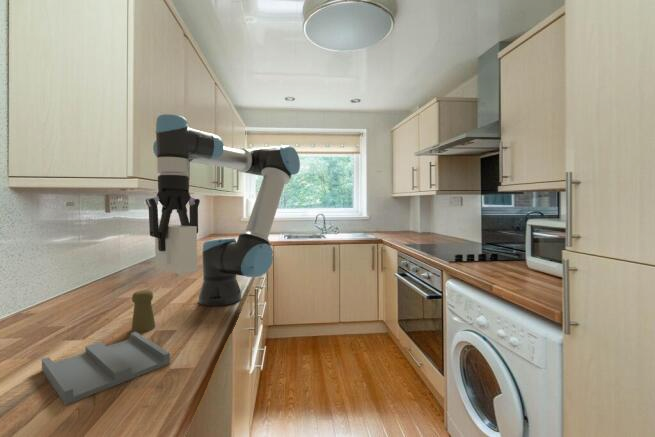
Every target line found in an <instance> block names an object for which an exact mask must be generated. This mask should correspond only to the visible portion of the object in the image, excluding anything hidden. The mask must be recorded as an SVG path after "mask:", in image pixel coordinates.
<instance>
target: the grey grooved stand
mask: <svg viewBox="0 0 655 437" xmlns="http://www.w3.org/2000/svg"><path fill="white" fill-rule="evenodd" d="M129 336H130V338H129V339H126V340H122V341H118V342H116V343H113V344H110V345H105V344H104V343H103V342H101V341H99V342H95V343H93V344H89V345H86V346H85V352H83V353H80V354H77V355H73V356H70V357H67V358H64V359H60V360H57V361H55V362H54V361H52V359H51V357H49V356H48V357H45V358H42V359H41V369H42V370H41V371H42V372H43V375H45V377H46V379H47V380H48V382H49V383H50V385H51V387H52V388H53V390H55V392H56V394H57V395H58V396H59V398H60V400H61V401H62V403H63V404H64V406H68V405H69V404H72V403H75V402H77V401H80V400H83V399H85V398H87V397H90V396H92V395H94V394H95V395H96V394H97V393H100V392H102V391H105V390H108V389H110V388H113V387H116V386H117V385H120V384H122V383H125V382H128V381H130V380H132V379H135V378H137V377H140V376H142V375H144V374H147V373H150V372H153V371H155V370H157V369H160V368H163V367H165V366H167V365H170V364H171V360H170V359H171V358H170V356H171V354H170V352H169V351H167V350H166V349H164V348H163V347H161V346H160V345H158V344H156V343H154V342H153V341H151V340H149V339H148V338H146V337H145V336H143V335H141V334H140V333H137V332H130V335H129Z"/></svg>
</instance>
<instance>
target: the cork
mask: <svg viewBox="0 0 655 437" xmlns="http://www.w3.org/2000/svg"><path fill="white" fill-rule="evenodd" d="M153 299H154V294H153V291H152V290H150V289H149V290H148V289H143V290H137V291H135V292H134V293H133V294H132V296H131V300H132V302H133V304H134V307H133V315H132V323H131V333H133V332H137V333H139V334H140V333H145V332H149V331H151V330H154V329H155V328H156V322H155V315H154V311H153V310H154V309H153V306H152V305H153V304H152V300H153Z"/></svg>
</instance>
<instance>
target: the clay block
mask: <svg viewBox="0 0 655 437" xmlns="http://www.w3.org/2000/svg"><path fill="white" fill-rule="evenodd" d="M159 225H160V224H158V227H159ZM197 236H198V233H197V226H185V225H181V224H172V223H171V224H170V223H169V225H168V230H167V235H166V239H169V252H170V264H165V263H162V251H159V249H158V239H157V238H156V237H154V250H155V252H154V254H155V268H156V269H159V270H161V271H165V272H169V273H172V274H176V275H179V276H183V275H189V274H193V273H199V272H198V237H197Z"/></svg>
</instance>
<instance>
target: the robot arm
mask: <svg viewBox="0 0 655 437" xmlns="http://www.w3.org/2000/svg"><path fill="white" fill-rule="evenodd" d="M155 135H156V136H155V137H156V140H155V141H154V142H153V150H152V151H153V154H154V155H155V157H156V159H157V160H156V165H157V166H156V167H157V169H156V170H157V173H158V174H159V175H158V176H157V189H158V192H157V193H156V196H154V197H151V198H150V197H149V198H145V203H146V205H147V207H148V224H149V225H148V226H149V236H150V237H152V238H155V237H156V238H157V239H158V249H159V251H162V263H165V264H170V252H169V239H166V235H167V230H168V225H169V224H170V219H171V214H172V213H173V211H176V213H177V214H178V217H179V221H180V225H185V226H197V234H198V233H199V205H200V202H201V200H200V199H199V198H194V197H192V196H191V195H190V177H189V174H190V168H189V167H190V165H189V164H190V163H191V164H198V165H204V166H205V165H206V166H213V167H214V166H215V167H219V168H226V169H227V168H228V169H234V170H236V171H237V172H239V173H245V174H251V175H254V176H262V177H263V178H262V180H261V184H260V187H259V190H258V193H257V195H256V199H255V202H254V204H253V207H252V209H251V210H252V211H251V213H250V216H249V219H248V222H247V225H246V228H245V231H244V232H241V233H240V234H239V235H238V238H237V239H236V238H235V237H228V238H227V237H226V238H219V239H211V240H206V241H204V242H203V244H202V269H203V270H202V272H203V274H202V275H203V277H202V278H203V281H202V284H201V288H200V291H199V294H198V304H200V305H202V306H204V307H205V306H207V307H221V306H228V305H232V304H234V303H235V304H236V303H237V302H239V301H241V300H242V291H241V288H240V285H239V282H238V280H237V276H243V277H247V278H252V277H253V278H259V277H262V276H263V275H265V274H266V273H268V271H269V270H270V269H271V266H272V264H273V260H274V255H273V253H274V251H273V249H272V247H271V242H270V241H271V240H270V239H269V236H270V233H271V230H272V227H273V222H274V220H275V216H276V213H277V210H278V206H279V204H280V200H281V197H282V195H283V191H284V187H285V185H286V184H288V183H290V181H291V178H292V176H294V175H296V174H299V172H300V169H301V163H300V162H301V161H300V158H299V154H298V152H297V150H296V149H295V148H294V147H293V146H292V145H289V144H288V145H284V144H281V145H280V146H279V145H278V146H267V147H258V148H239V149H236V148H231V147H228V146H225V145H224V141H223V139H221V137H220V136H218V135H216V134H213V133H211V132H206V131H201V130H197V129H194V128H191V127H189V124H188V120H187V118H186V117H184V116H182V115H179V114H173V113H172V114H171V113H166V114H165V113H164V114H160V115H158V116H157V118H156V124H155ZM159 203H160V204H161V205H162V206H161V207H162V208H161V216H160V221H159V210H158V209H159V208H158V206H159ZM188 204H189V207H188V208H189V215H188V209H187V205H188ZM158 225H159V227H158Z"/></svg>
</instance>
